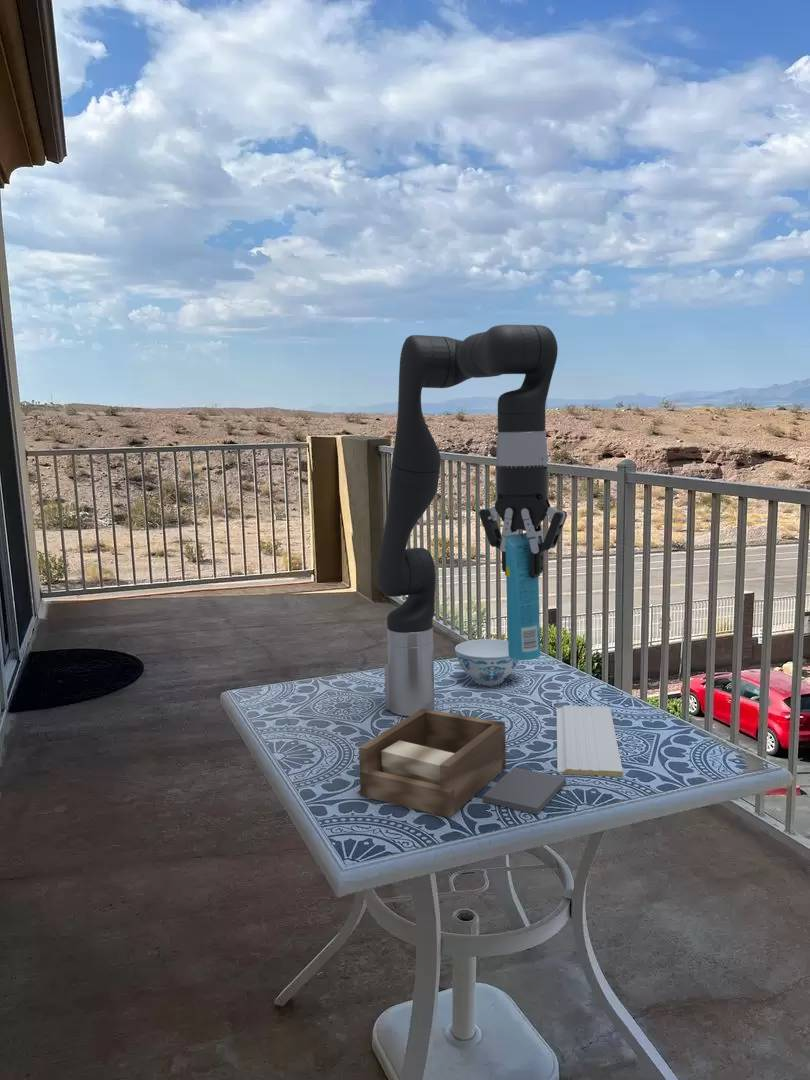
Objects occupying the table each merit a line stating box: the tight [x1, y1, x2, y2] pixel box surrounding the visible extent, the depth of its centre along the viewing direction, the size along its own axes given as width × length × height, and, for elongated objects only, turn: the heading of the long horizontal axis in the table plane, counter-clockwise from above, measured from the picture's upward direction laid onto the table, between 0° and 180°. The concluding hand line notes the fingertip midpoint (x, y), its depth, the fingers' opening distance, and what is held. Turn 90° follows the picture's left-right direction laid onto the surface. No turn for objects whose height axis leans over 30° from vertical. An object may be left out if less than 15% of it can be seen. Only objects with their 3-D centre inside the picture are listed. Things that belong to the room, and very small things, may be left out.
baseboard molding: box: [550, 699, 624, 778], centre depth 151 cm, size 31×3×12 cm
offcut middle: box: [382, 766, 440, 785], centre depth 130 cm, size 11×5×2 cm, turn 59°
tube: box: [505, 532, 541, 661], centre depth 125 cm, size 7×5×19 cm, turn 140°
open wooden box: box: [358, 708, 507, 819], centre depth 134 cm, size 16×20×8 cm
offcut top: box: [381, 740, 455, 781], centre depth 130 cm, size 11×5×2 cm, turn 56°
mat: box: [482, 766, 567, 816], centre depth 130 cm, size 9×12×1 cm
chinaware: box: [454, 638, 520, 686], centre depth 186 cm, size 15×15×8 cm
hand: (522, 575), depth 125 cm, fingers closed on tube, 3 cm apart
